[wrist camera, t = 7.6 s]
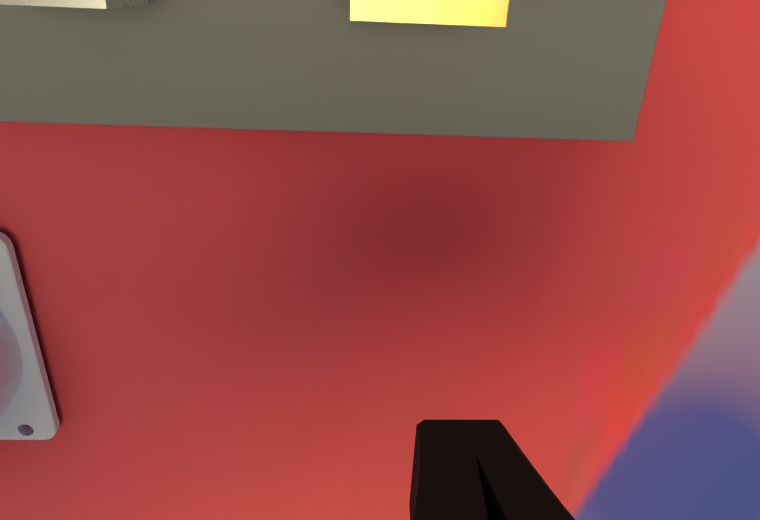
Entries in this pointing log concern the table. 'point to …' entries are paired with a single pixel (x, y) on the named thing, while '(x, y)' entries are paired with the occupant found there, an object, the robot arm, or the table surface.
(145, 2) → the fixed leg
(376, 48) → the plate
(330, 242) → the table surface
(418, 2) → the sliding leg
